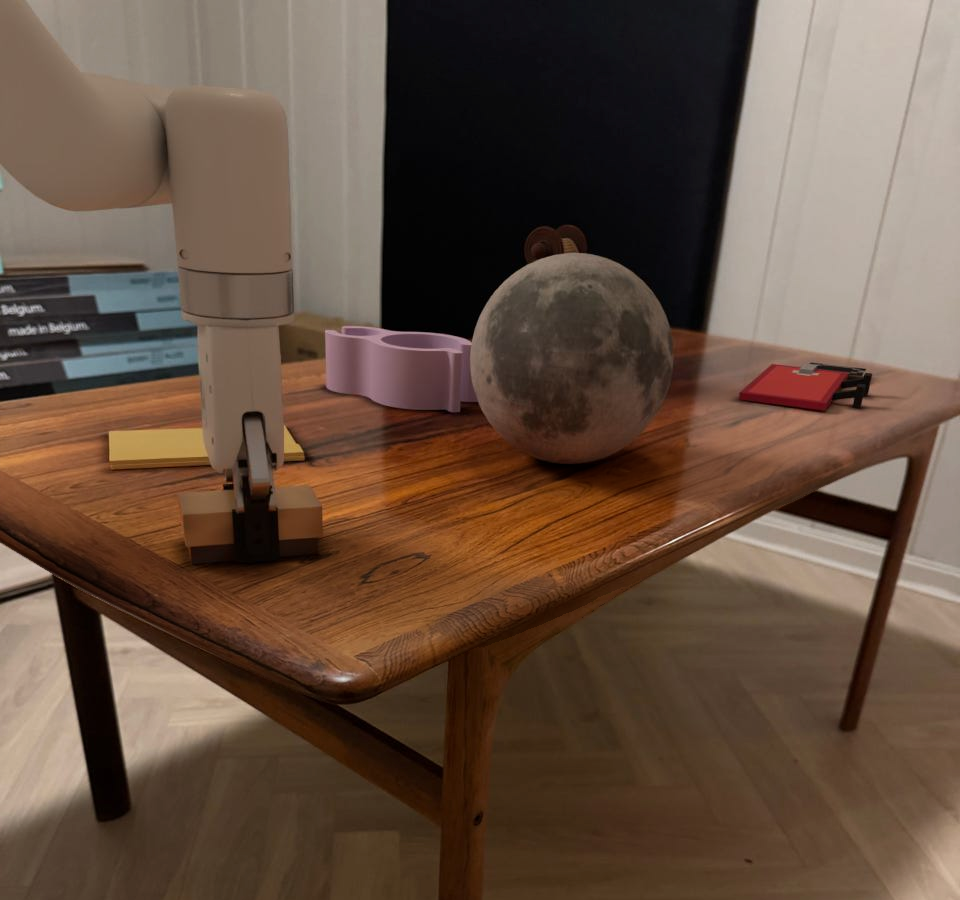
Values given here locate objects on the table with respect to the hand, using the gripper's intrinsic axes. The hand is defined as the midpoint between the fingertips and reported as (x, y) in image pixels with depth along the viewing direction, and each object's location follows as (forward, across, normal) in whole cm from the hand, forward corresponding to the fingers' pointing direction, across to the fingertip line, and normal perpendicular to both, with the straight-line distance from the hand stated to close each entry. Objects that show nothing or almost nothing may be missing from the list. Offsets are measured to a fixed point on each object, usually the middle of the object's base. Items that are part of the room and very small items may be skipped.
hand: (252, 543), depth 73 cm
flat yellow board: (0, -28, -1) cm, 28 cm away
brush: (0, 0, 0) cm, 0 cm away
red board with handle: (+1, -45, +86) cm, 97 cm away
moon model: (+1, -18, +34) cm, 38 cm away
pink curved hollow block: (+1, -48, +25) cm, 54 cm away
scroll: (+1, -53, +47) cm, 71 cm away
